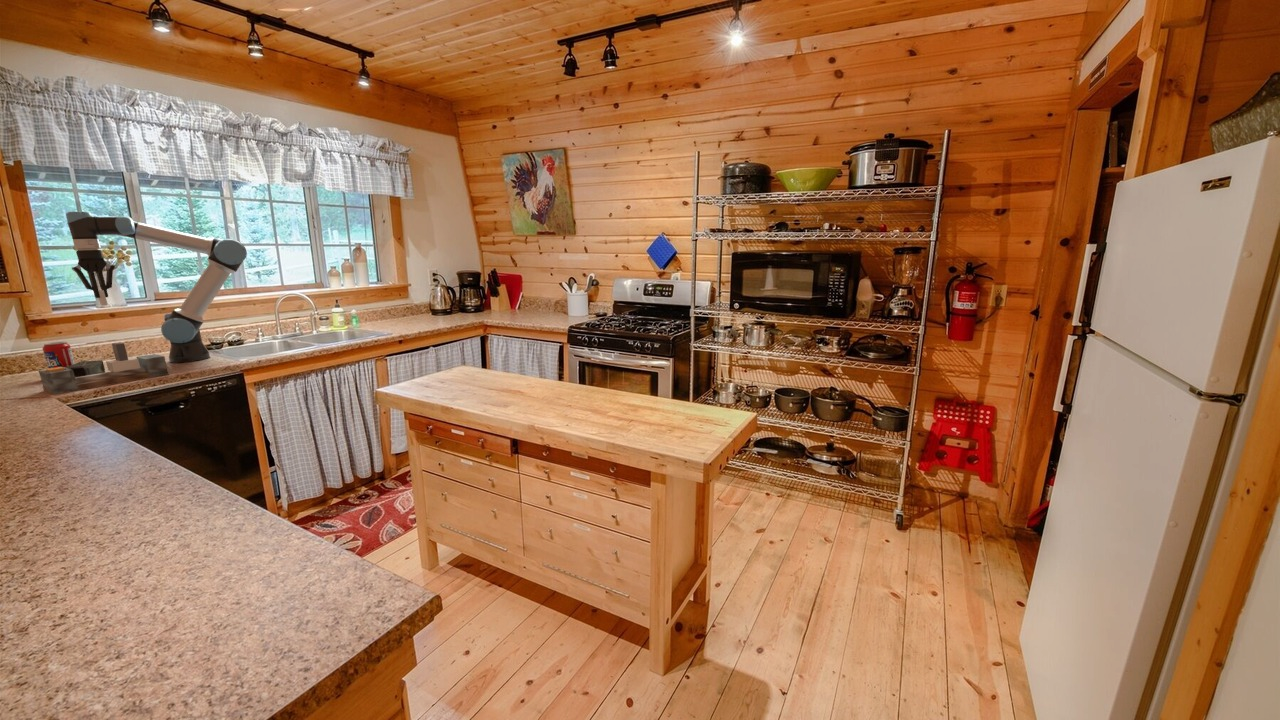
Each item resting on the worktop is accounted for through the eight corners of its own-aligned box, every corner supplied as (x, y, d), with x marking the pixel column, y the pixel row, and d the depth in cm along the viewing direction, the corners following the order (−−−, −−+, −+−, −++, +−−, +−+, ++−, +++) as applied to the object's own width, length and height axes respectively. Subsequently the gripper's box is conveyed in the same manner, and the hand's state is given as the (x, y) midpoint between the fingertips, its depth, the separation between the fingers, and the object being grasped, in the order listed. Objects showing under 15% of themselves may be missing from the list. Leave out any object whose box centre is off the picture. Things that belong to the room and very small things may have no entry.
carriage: (134, 366, 216) (128, 341, 213) (140, 368, 212) (134, 342, 210) (108, 370, 209) (101, 344, 207) (114, 372, 205) (107, 345, 203)
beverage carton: (107, 372, 226) (103, 358, 225) (88, 382, 210) (83, 366, 208) (82, 375, 222) (78, 360, 221) (60, 384, 206) (56, 369, 204)
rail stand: (158, 371, 224) (154, 354, 222) (168, 374, 219) (164, 356, 217) (44, 391, 196) (38, 370, 194) (52, 394, 190) (46, 373, 188)
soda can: (81, 375, 221) (72, 341, 217) (55, 379, 214) (45, 344, 210) (73, 373, 224) (64, 340, 220) (47, 378, 217) (37, 343, 214)
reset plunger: (64, 377, 198) (61, 366, 197) (67, 379, 196) (64, 367, 195) (49, 380, 194) (46, 368, 193) (52, 381, 192) (48, 370, 191)
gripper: (69, 250, 207) (86, 307, 212) (113, 248, 218) (127, 303, 223) (63, 250, 210) (79, 307, 216) (106, 249, 221) (121, 303, 227)
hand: (104, 305), depth 219 cm, fingers closed
